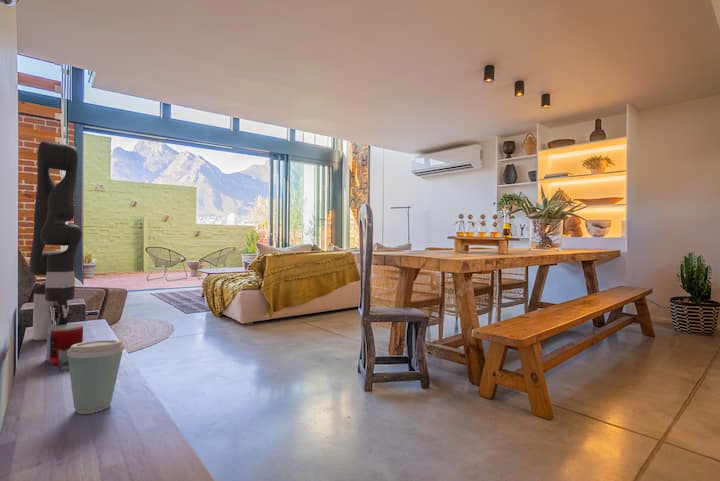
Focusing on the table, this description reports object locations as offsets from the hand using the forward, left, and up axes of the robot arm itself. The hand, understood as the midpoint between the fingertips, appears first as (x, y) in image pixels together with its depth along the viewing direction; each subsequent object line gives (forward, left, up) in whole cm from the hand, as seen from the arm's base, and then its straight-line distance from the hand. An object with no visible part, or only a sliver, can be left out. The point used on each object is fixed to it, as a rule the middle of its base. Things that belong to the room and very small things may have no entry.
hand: (58, 338), depth 121 cm
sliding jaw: (0, 0, -6) cm, 6 cm away
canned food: (+9, 0, -6) cm, 11 cm away
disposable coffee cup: (+53, -6, -6) cm, 54 cm away
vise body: (+16, 0, -6) cm, 17 cm away
